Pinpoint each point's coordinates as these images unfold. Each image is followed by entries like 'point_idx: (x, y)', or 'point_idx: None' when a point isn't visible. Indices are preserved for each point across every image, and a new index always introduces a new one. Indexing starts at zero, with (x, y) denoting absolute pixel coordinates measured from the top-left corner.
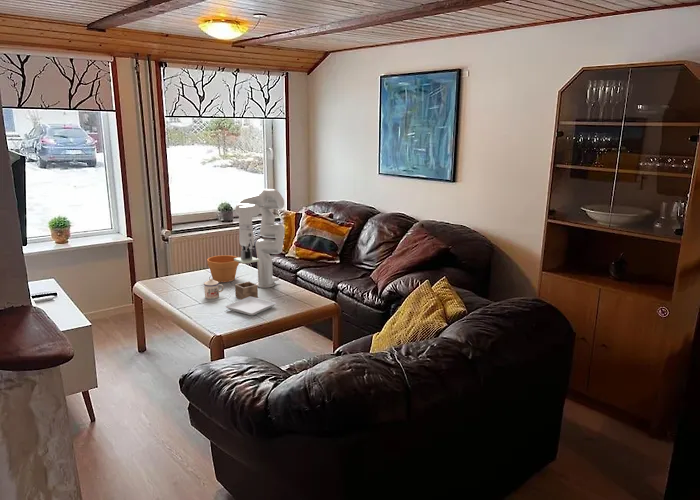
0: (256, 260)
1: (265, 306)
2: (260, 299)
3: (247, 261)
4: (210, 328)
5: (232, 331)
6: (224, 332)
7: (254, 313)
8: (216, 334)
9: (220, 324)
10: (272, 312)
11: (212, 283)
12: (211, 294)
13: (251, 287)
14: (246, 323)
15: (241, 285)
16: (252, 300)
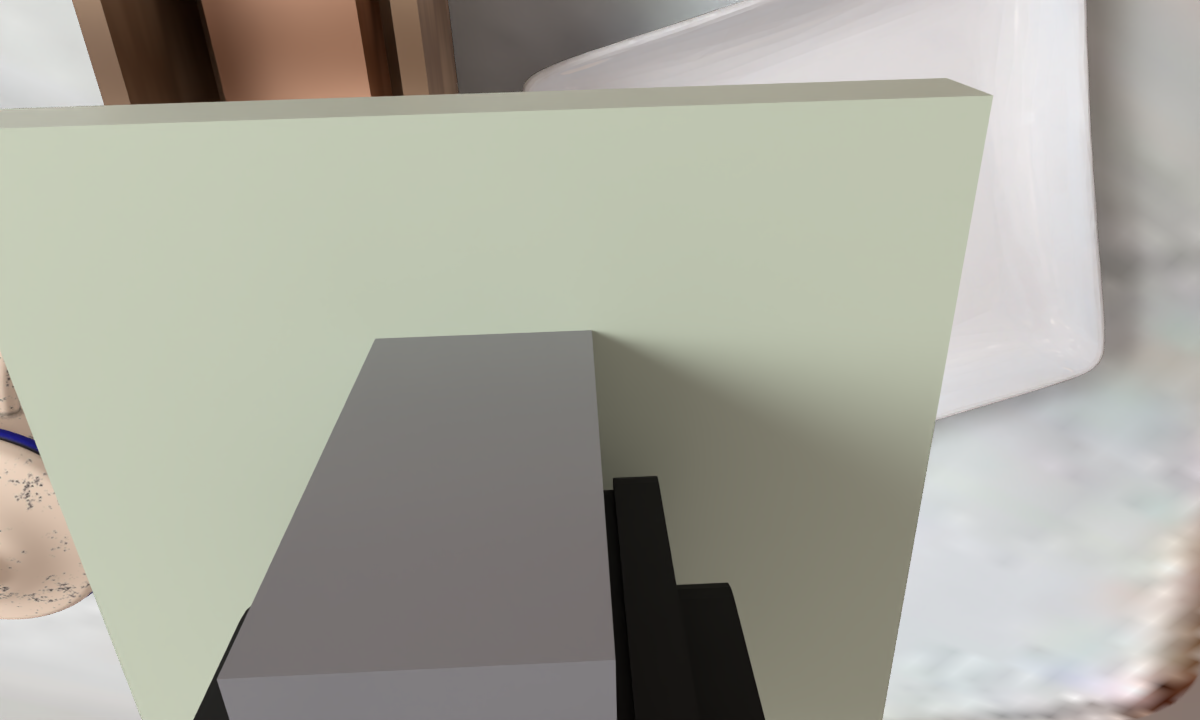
0: (948, 261)
1: (930, 34)
2: (750, 13)
3: (885, 644)
4: (980, 697)
5: (1183, 601)
6: (1143, 650)
7: (1092, 322)
8: (1122, 701)
9: (969, 619)
10: (1138, 48)
11: (66, 554)
12: None
13: (422, 24)
14: (1144, 447)
15: (148, 93)
16: (616, 87)
